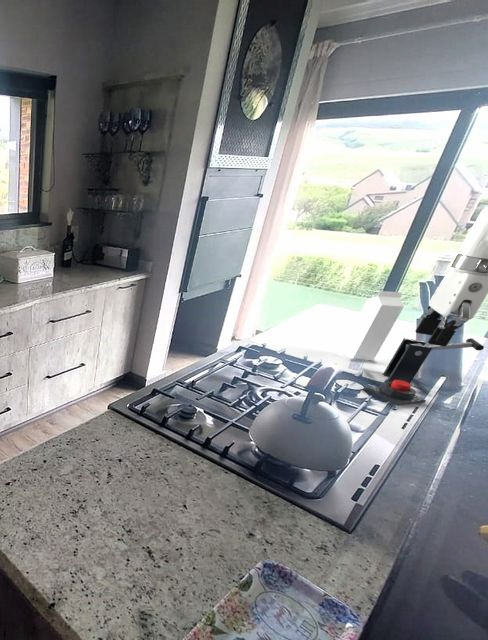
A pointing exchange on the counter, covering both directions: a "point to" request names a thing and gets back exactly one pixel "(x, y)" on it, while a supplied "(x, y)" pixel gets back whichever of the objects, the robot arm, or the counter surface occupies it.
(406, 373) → the bracket
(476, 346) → the lever
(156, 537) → the counter surface
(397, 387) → the button
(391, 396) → the button box
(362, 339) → the milk
